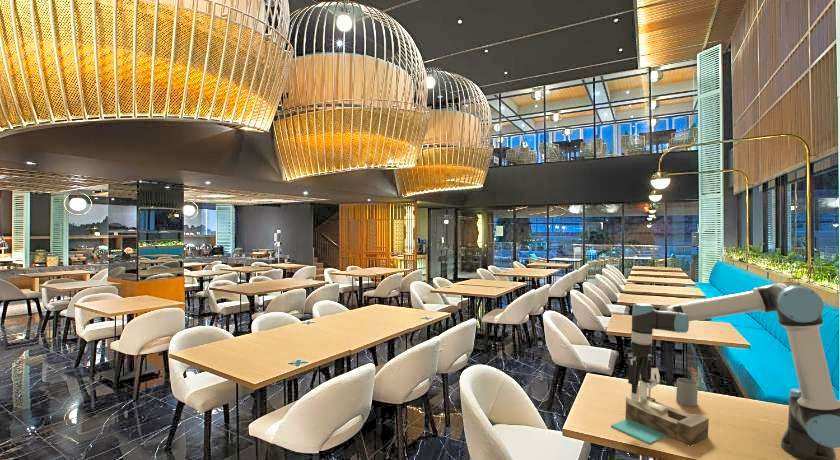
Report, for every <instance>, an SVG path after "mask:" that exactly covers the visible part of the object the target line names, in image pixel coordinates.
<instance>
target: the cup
mask: <svg viewBox="0 0 840 460" xmlns="http://www.w3.org/2000/svg"><path fill="white" fill-rule="evenodd" d="M698 390H699V383H698V382H697V381H695V380H693V379H689V378H683V377H682V378H681V377H679V378H677V379H676V397H675V400H676V402H677V403H678V404H680V405H683V406H687V407H697V405H698V394H699V393H698V392H699V391H698Z"/></svg>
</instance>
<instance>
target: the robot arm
mask: <svg viewBox="0 0 840 460" xmlns="http://www.w3.org/2000/svg"><path fill="white" fill-rule="evenodd" d="M824 310H825V304H824V301H823V298H822V297H821V295H819V294H818V293H817V292H816V291H815V290H814V289H812V288H809V287H808V286H805V285H801V284H799V283H796V282H795V283H794V282H792V281H781V282H777V283H772V284H767V285H763V286H757V287H753V289H752V290H751V291H745V292H740V293H739V292H738V293H735V294H728V295H724V296H722V295H721V296H718V297H717V296H716V297H711V298H706V299H701V300H695V301H689V302H684V303H679V304H673V305H671V304H664V305H662V306H660V308H659V310H657V309H655V308H654V305H653V304H652V303H651V304H650V303H646V302H645V303H644V302H635V303H634V304H633V305H632V310H631V311H632V312H631V332H630V334H631V335H630V336H631V338H630V339H631V341H630V351H632V353H633V355H632V358H628V361H627V362H628V381H627V383H628V384H630V385H631V393H630V395H631V400H633V401H635V402H639V397H641V398H643V399H647V396H648V387H647V383H650V381H649V380H651V365H653V364H652V363H653V362H652V361H653V355H651V354H652V352H653V350H652V349H653V333H654V332H653V330H659V331H665V332H671V333H672V332H673V333H677V334H678V333H682V334H683V333H684V334H685V333H688V332H689V326H690V325H689V324H690V322H693V321H694V322H696V321H702V320H707V319H712V318H714V319H715V318H720V317H726V316H732V315H733V316H734V315H739V314H745V313H750V312H751V313H753V312H759V311H760V312H762V313H770V312H776V314H777V318H778V322H779V325H780V326H781V327H783V328H784V329H786V334H787V337H788V342H789V347H790V351H791V355H792V360H793V364H794V368H795V373H796V377H797V381H798V387H799V388H791V389H790V390H789V395H788V399H789V400H788V418H787V419H788V420H787V428H786V430H785V431H784V434H783V435H782V437H781V440H780V447H781V448H782V449H783V450H784V451H785V452H786V453H789V454H790V455H792V456H794V457H797V458H799V459H802V460H835V459H836V458H837V455H836V451H835V449H837V448H839V449H840V400H839V399H837V398H836V397H835V392H834V388H833V385H832V384H833V383H832V380H831V376H830V371H829V367H828V362H827V358H826V355H825V350H824V345H823V341H822V338H821V337H822V336H821V333H820V332H821V331H820V327H821V326H823V324H824V319H823V316H822V315H823V313H824ZM640 374H641V379H640ZM836 460H837V459H836Z"/></svg>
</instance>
